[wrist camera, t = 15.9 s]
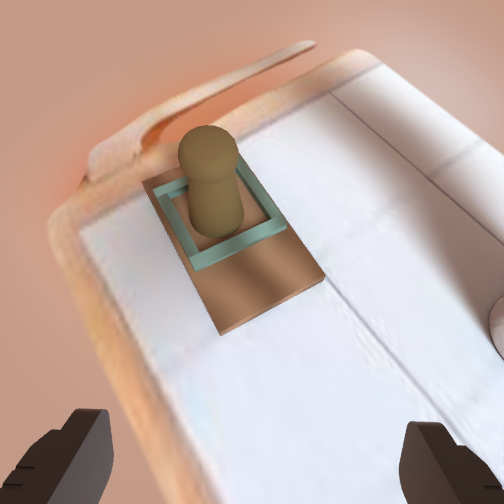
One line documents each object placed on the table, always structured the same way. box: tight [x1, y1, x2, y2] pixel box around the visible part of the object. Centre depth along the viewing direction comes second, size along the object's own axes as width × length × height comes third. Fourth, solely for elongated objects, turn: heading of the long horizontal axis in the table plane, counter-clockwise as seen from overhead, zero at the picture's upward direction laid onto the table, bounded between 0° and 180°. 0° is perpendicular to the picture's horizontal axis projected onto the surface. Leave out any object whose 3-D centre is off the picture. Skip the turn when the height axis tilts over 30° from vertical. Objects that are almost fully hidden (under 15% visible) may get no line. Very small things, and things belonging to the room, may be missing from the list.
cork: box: [178, 125, 244, 238], centre depth 33 cm, size 6×6×11 cm
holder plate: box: [142, 152, 326, 336], centre depth 38 cm, size 12×20×3 cm, turn 29°
